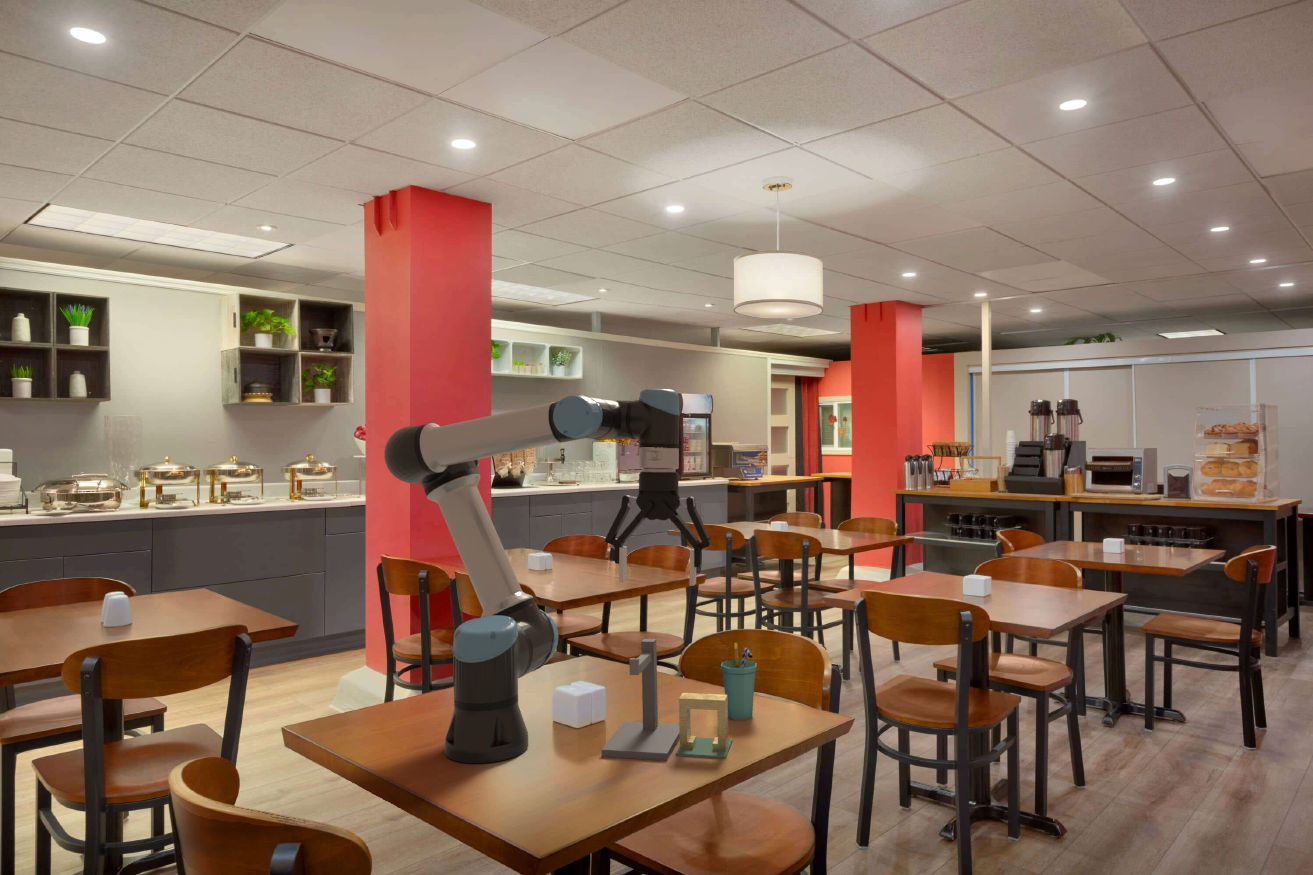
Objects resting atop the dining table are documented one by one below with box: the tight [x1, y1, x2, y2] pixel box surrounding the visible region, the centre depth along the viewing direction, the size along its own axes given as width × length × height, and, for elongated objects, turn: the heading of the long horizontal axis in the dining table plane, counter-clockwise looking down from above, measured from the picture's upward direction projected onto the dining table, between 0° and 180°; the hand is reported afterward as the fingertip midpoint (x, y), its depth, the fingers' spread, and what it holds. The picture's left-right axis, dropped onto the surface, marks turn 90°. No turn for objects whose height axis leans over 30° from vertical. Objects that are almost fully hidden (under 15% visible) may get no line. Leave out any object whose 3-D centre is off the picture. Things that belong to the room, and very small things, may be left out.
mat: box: [675, 736, 733, 759], centre depth 151 cm, size 9×9×1 cm
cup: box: [720, 642, 758, 721], centre depth 169 cm, size 14×8×15 cm, turn 12°
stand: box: [600, 638, 680, 761], centre depth 155 cm, size 12×16×18 cm
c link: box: [678, 692, 729, 751], centre depth 151 cm, size 8×4×9 cm, turn 77°
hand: (657, 583), depth 157 cm, fingers open, 13 cm apart
